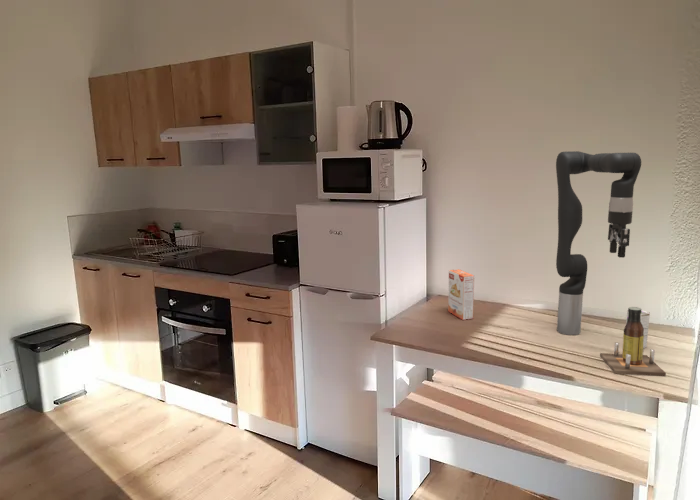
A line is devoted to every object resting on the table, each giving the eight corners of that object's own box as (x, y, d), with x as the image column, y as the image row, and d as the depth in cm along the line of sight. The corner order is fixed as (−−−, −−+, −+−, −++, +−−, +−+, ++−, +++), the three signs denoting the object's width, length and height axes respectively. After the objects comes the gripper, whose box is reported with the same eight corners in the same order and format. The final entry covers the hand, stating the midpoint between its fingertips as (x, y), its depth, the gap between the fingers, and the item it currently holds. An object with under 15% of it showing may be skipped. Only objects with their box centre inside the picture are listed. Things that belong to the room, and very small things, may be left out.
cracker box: (447, 312, 249) (448, 269, 245) (458, 310, 250) (459, 268, 247) (461, 320, 235) (463, 275, 232) (473, 319, 237) (474, 274, 234)
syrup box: (623, 345, 202) (626, 309, 200) (634, 343, 204) (637, 307, 202) (635, 350, 197) (639, 313, 195) (647, 348, 199) (650, 311, 197)
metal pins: (613, 355, 189) (614, 342, 188) (646, 356, 187) (647, 343, 187) (625, 369, 177) (627, 355, 176) (661, 370, 175) (662, 356, 174)
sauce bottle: (635, 358, 186) (640, 305, 182) (645, 365, 179) (650, 310, 176) (617, 359, 185) (621, 305, 182) (627, 366, 179) (632, 310, 176)
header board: (599, 356, 192) (600, 352, 191) (646, 358, 189) (646, 354, 189) (614, 373, 176) (615, 370, 176) (665, 376, 174) (665, 372, 173)
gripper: (602, 208, 190) (599, 251, 193) (616, 212, 176) (612, 258, 179) (624, 208, 189) (621, 251, 192) (639, 212, 175) (635, 259, 178)
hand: (617, 255), depth 185 cm, fingers open, 8 cm apart
